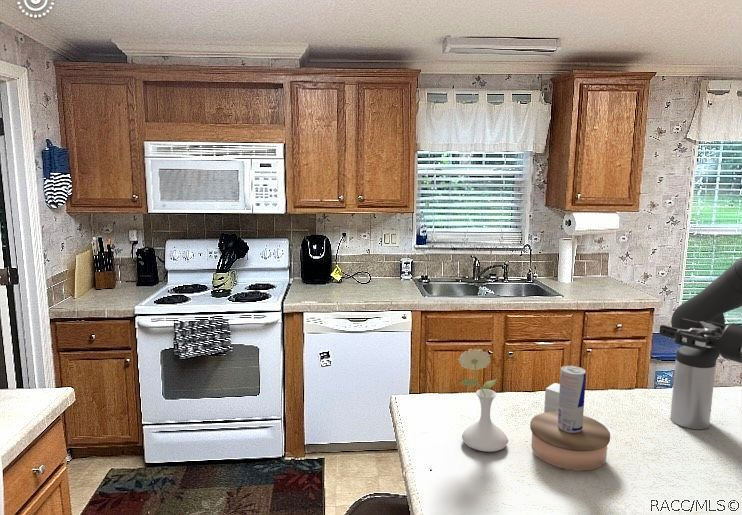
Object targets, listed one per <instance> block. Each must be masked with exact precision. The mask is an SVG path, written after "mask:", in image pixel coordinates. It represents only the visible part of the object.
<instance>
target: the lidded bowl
mask: <svg viewBox="0 0 742 515" xmlns="http://www.w3.org/2000/svg"><path fill="white" fill-rule="evenodd" d="M529 427H530V431H531V443H530V444H531V445H530V446H531V450H532V451H533V453H534V454H535V455H536V457H538V458H539V459H541V460H543V461H545V462H546V463H548V464H550V465H552V466H556V467H558V468H562V469H565V470H572V471H587V470H588V471H589V470H594V469H597V468H601V466H603V465H604V464H605V463H606V461H607V454H608V453H607V452H608V445H609V444H610V442H611V432H610V430H609V429H608V428H607V426H606V425H604V424H602V423H601V422H600V421H598V420H596V419H594V418H592V417H589V416H586V415H584V414H583V429H582V431H580V432H577V433H569V432H565V431H563V430H561V429H560V428H559V427H558V411H553V412H542V413H539V414H536V415H535V416H533V417H532V418H531V420H530V423H529Z"/></svg>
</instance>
